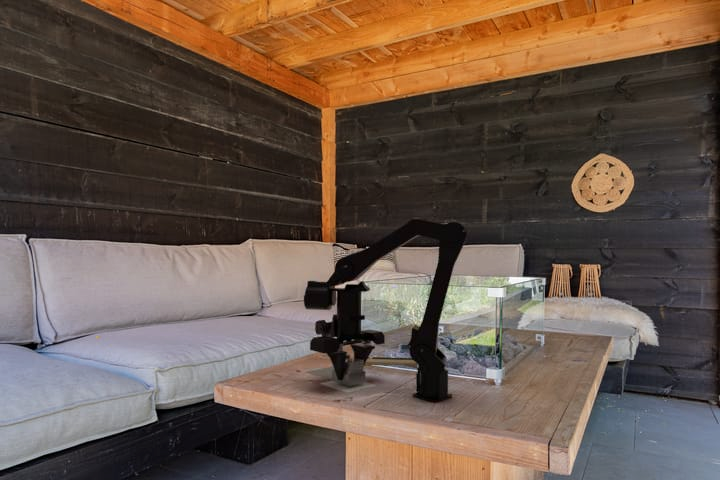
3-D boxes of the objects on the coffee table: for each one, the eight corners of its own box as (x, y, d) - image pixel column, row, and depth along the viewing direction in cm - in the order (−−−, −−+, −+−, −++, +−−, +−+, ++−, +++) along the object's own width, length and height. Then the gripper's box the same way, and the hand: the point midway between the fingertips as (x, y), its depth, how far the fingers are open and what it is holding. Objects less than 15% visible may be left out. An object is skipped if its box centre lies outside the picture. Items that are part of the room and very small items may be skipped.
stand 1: (357, 379, 121) (357, 373, 121) (330, 385, 115) (330, 379, 115) (332, 372, 128) (332, 366, 128) (305, 377, 122) (305, 371, 122)
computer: (415, 366, 138) (415, 354, 138) (417, 373, 130) (417, 360, 130) (361, 365, 139) (361, 353, 139) (360, 372, 131) (360, 359, 131)
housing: (348, 376, 115) (348, 353, 115) (365, 381, 110) (365, 357, 110) (332, 380, 111) (332, 356, 111) (349, 385, 107) (349, 361, 107)
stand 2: (377, 391, 110) (377, 385, 110) (347, 399, 104) (347, 392, 104) (348, 383, 117) (348, 376, 117) (319, 389, 111) (319, 383, 111)
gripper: (355, 305, 123) (354, 365, 123) (295, 310, 111) (295, 378, 110) (386, 308, 115) (386, 373, 115) (326, 315, 103) (325, 388, 102)
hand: (348, 378), depth 111 cm, fingers closed on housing, 5 cm apart
